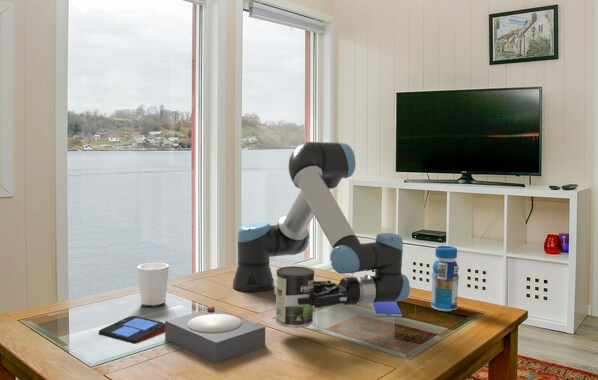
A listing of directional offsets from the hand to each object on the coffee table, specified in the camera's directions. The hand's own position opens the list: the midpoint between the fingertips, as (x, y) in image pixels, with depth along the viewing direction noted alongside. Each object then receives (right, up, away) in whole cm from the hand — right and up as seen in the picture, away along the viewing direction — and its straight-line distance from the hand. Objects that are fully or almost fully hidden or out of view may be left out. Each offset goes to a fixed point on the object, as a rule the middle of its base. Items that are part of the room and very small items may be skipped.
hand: (279, 295), depth 141 cm
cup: (-42, -9, +29) cm, 52 cm away
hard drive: (+33, -11, +27) cm, 44 cm away
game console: (-41, -12, +4) cm, 42 cm away
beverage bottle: (+53, -10, +30) cm, 62 cm away
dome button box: (-17, -12, -3) cm, 21 cm away
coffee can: (+4, -8, +2) cm, 9 cm away
